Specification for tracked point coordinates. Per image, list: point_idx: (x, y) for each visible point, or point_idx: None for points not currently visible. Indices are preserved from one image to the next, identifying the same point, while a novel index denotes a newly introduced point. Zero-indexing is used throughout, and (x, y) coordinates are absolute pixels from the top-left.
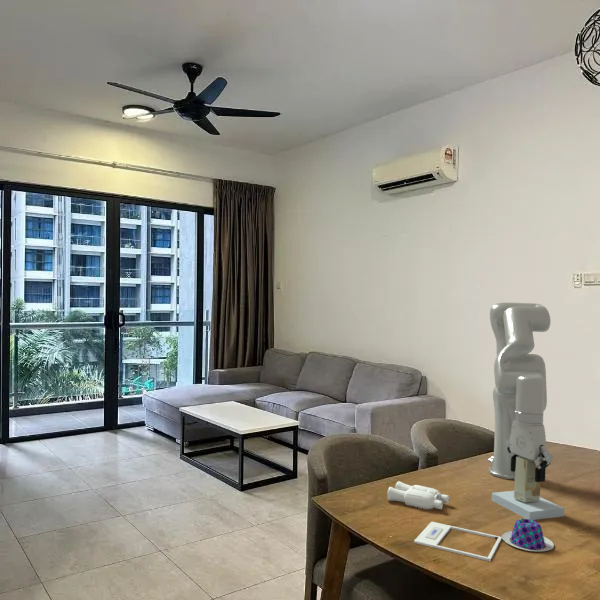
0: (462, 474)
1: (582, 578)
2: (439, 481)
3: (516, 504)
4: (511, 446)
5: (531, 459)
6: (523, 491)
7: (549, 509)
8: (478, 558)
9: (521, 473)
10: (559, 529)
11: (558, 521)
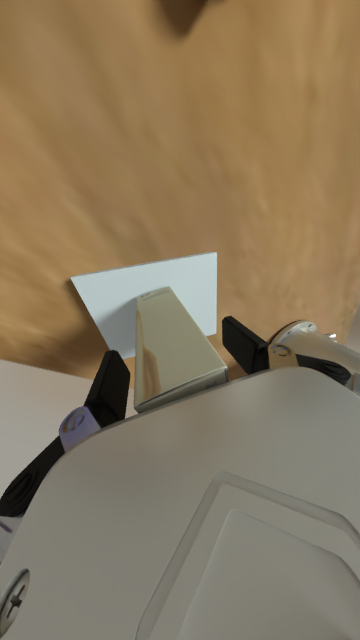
0: (329, 272)
1: None
2: (342, 183)
3: (130, 271)
4: (347, 411)
5: (74, 446)
6: (142, 304)
7: (102, 333)
8: None
9: (160, 328)
10: (29, 314)
11: (86, 332)
